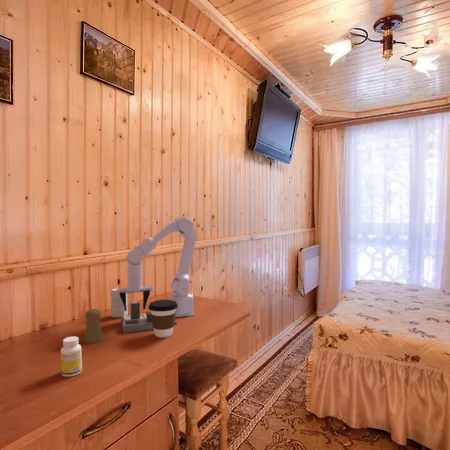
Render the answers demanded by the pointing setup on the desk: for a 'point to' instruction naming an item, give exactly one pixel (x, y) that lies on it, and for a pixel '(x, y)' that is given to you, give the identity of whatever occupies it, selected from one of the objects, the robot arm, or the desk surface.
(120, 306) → the skincare box
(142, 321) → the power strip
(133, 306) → the plug
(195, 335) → the desk surface
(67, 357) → the supplement bottle
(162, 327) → the coffee cup
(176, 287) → the robot arm
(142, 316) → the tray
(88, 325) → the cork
